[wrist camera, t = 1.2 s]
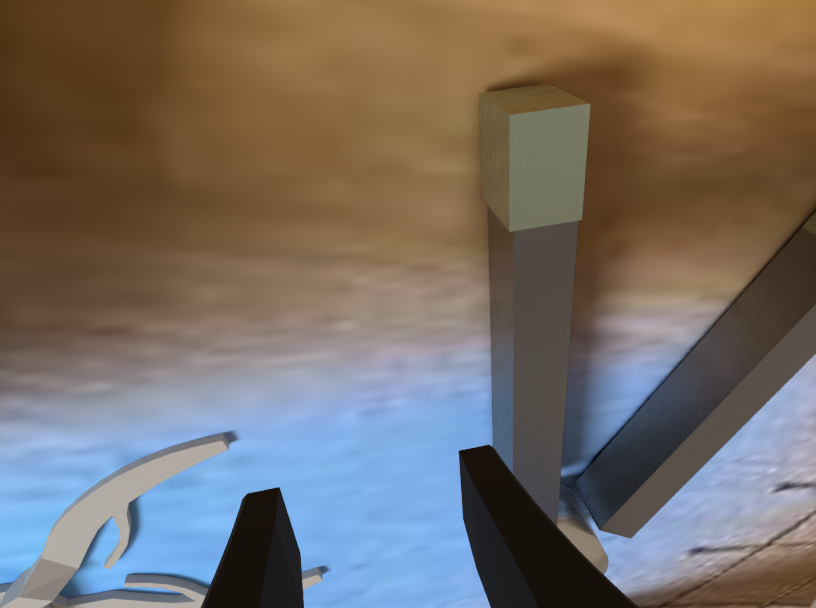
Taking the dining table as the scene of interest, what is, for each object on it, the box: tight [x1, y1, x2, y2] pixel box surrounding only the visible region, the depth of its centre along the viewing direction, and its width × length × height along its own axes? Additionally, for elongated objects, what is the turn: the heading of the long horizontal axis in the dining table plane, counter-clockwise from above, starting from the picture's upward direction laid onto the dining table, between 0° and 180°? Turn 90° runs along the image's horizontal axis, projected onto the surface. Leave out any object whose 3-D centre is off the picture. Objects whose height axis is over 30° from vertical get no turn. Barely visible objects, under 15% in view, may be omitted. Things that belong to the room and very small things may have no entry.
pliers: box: [0, 433, 322, 608], centre depth 23 cm, size 10×2×15 cm
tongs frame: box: [557, 212, 816, 575], centre depth 21 cm, size 4×20×4 cm, turn 150°
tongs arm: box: [479, 83, 591, 526], centre depth 19 cm, size 2×16×3 cm, turn 6°
